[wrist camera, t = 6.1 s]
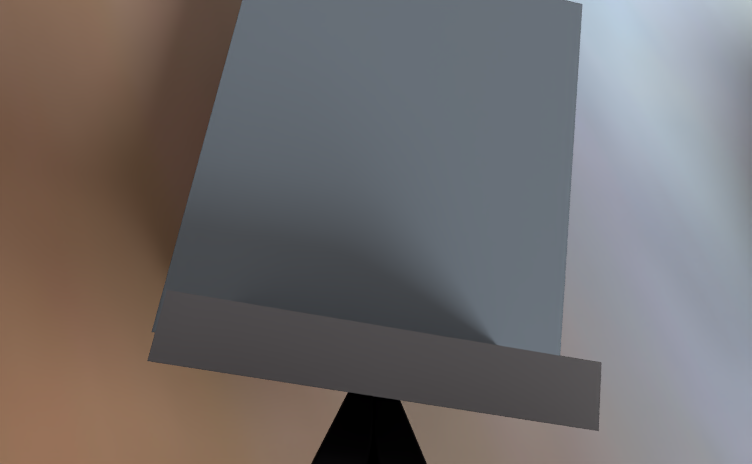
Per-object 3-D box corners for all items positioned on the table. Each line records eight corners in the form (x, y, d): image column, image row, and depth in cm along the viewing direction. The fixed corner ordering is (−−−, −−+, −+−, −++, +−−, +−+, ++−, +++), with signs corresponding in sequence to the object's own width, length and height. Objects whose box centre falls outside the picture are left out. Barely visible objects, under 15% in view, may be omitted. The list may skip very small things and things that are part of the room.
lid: (547, 393, 13) (701, 447, 8) (160, 331, 12) (23, 341, 7) (573, 15, 16) (696, -139, 11) (264, -55, 15) (226, -260, 10)
